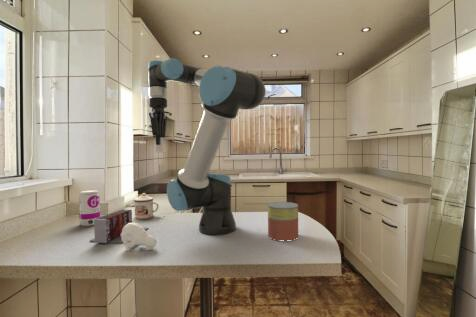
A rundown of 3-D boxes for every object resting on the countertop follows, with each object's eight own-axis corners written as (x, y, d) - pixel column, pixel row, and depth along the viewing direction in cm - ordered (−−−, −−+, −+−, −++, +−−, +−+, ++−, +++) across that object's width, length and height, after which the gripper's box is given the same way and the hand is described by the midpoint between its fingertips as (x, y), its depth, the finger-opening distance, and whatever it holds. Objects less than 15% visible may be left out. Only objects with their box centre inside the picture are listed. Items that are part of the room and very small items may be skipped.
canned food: (305, 238, 98) (304, 205, 98) (281, 244, 92) (280, 209, 92) (284, 230, 108) (284, 200, 108) (262, 235, 102) (261, 204, 102)
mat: (148, 228, 113) (148, 227, 113) (121, 243, 95) (121, 242, 95) (121, 227, 115) (121, 226, 115) (89, 241, 98) (89, 240, 98)
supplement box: (105, 219, 94) (132, 209, 109) (93, 219, 95) (121, 208, 110) (106, 244, 94) (133, 230, 110) (94, 243, 95) (122, 229, 111)
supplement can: (104, 222, 123) (103, 190, 123) (85, 227, 116) (84, 193, 116) (94, 220, 128) (93, 189, 127) (76, 224, 121) (75, 191, 120)
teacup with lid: (131, 219, 130) (130, 195, 129) (139, 214, 139) (138, 192, 139) (155, 219, 129) (154, 195, 128) (162, 214, 138) (161, 192, 138)
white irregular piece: (131, 219, 94) (161, 224, 91) (130, 243, 95) (160, 249, 92) (119, 224, 88) (151, 230, 85) (117, 249, 89) (149, 256, 85)
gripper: (156, 101, 124) (158, 152, 124) (142, 95, 111) (144, 152, 112) (172, 100, 123) (173, 152, 123) (159, 94, 110) (160, 152, 110)
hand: (159, 152), depth 117 cm, fingers closed
